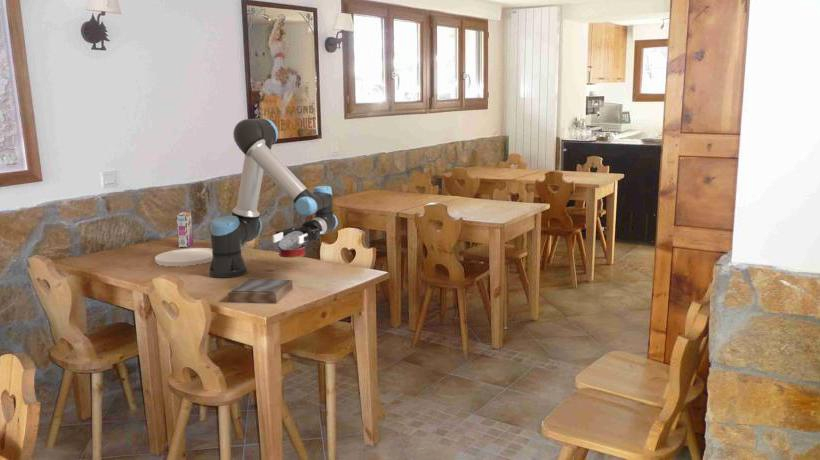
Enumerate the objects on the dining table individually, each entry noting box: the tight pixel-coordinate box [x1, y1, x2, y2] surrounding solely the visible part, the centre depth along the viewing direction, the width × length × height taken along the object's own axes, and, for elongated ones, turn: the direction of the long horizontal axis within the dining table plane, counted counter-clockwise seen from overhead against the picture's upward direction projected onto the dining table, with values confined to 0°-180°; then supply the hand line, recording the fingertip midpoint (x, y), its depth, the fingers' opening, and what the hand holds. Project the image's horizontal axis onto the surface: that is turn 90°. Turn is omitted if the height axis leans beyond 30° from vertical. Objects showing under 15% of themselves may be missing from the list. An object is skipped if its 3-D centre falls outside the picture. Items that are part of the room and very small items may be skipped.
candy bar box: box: [176, 211, 194, 249], centre depth 342 cm, size 11×5×16 cm, turn 5°
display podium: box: [227, 278, 294, 304], centre depth 253 cm, size 18×18×4 cm
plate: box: [154, 247, 213, 268], centre depth 314 cm, size 28×28×2 cm
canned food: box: [278, 231, 306, 259], centre depth 258 cm, size 11×10×10 cm
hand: (285, 239), depth 253 cm, fingers closed on canned food, 10 cm apart
